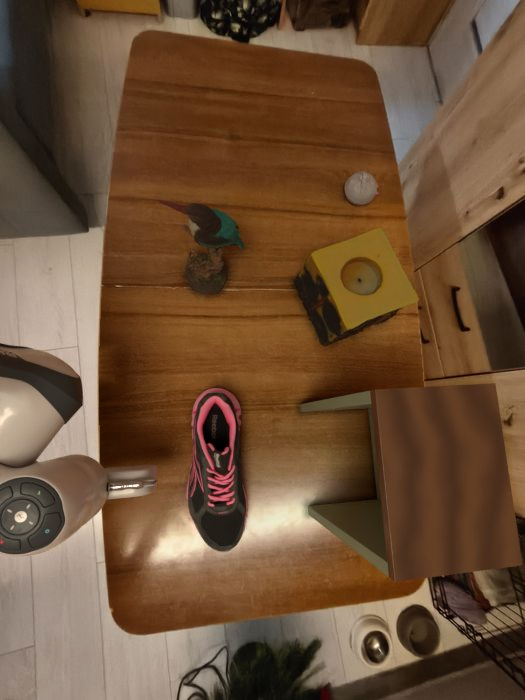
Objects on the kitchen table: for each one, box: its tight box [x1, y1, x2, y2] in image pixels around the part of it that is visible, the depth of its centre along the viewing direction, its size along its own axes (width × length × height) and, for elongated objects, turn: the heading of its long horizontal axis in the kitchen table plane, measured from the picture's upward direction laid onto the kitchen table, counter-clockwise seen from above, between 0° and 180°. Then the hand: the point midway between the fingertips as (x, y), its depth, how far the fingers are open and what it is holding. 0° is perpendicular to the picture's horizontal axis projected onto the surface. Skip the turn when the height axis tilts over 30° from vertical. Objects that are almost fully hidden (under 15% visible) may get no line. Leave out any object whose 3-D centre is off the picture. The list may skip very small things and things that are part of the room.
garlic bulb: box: [343, 170, 379, 206], centre depth 87 cm, size 6×7×8 cm
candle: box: [293, 226, 420, 347], centre depth 79 cm, size 15×15×15 cm
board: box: [369, 383, 524, 583], centre depth 48 cm, size 15×20×2 cm
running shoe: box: [185, 387, 248, 553], centre depth 70 cm, size 11×27×13 cm, turn 6°
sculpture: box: [156, 199, 246, 295], centre depth 70 cm, size 8×14×25 cm, turn 88°
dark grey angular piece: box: [299, 390, 389, 578], centre depth 65 cm, size 15×20×33 cm
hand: (95, 477), depth 68 cm, fingers closed
